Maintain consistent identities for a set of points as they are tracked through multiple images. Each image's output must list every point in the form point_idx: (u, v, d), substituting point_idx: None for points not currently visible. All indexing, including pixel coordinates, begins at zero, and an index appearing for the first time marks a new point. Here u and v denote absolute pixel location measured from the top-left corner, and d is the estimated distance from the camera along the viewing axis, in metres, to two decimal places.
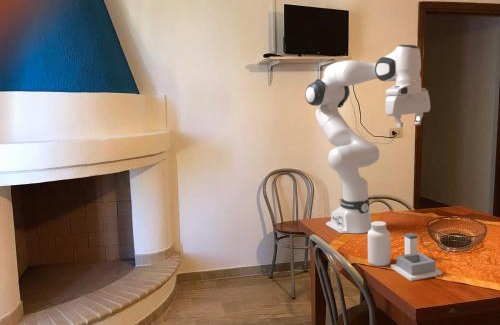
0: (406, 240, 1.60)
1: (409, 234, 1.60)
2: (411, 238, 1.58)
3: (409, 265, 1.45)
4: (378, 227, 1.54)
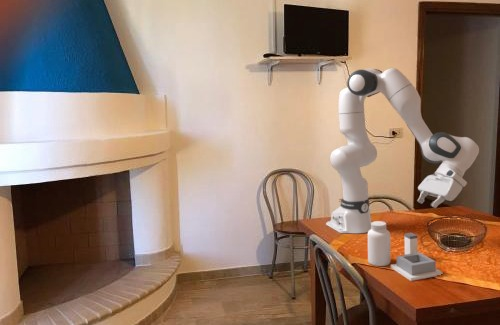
0: (406, 240, 1.60)
1: (409, 234, 1.60)
2: (411, 238, 1.58)
3: (409, 265, 1.45)
4: (378, 227, 1.54)
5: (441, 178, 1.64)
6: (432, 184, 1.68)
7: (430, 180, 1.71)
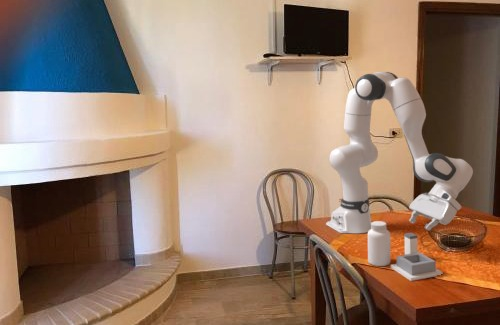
0: (406, 240, 1.60)
1: (409, 234, 1.60)
2: (411, 238, 1.58)
3: (409, 265, 1.45)
4: (378, 227, 1.54)
5: (435, 200, 1.62)
6: (425, 205, 1.66)
7: (422, 200, 1.69)
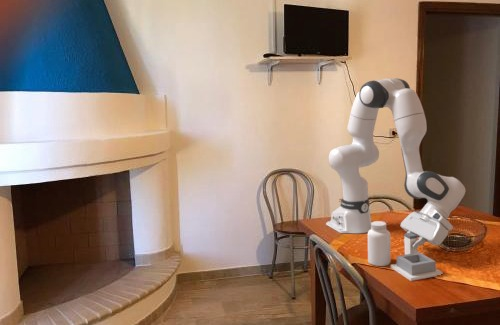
0: (406, 240, 1.60)
1: (409, 234, 1.60)
2: (411, 238, 1.58)
3: (409, 265, 1.45)
4: (378, 227, 1.54)
5: (426, 220, 1.58)
6: (416, 224, 1.62)
7: (414, 218, 1.66)
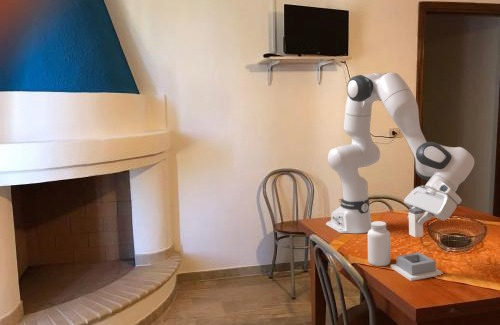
0: (410, 216, 1.47)
1: (414, 209, 1.47)
2: (416, 213, 1.45)
3: (409, 265, 1.45)
4: (378, 227, 1.54)
5: (432, 193, 1.45)
6: (421, 198, 1.49)
7: (418, 193, 1.52)
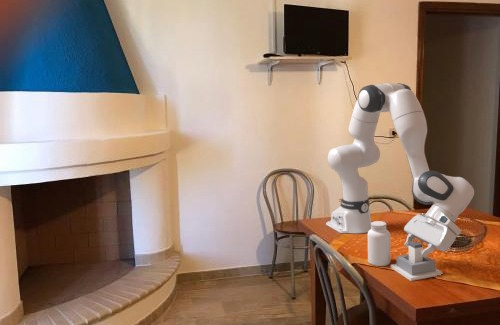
0: (410, 249, 1.49)
1: (413, 243, 1.48)
2: (415, 247, 1.46)
3: (409, 265, 1.45)
4: (378, 227, 1.54)
5: (432, 223, 1.46)
6: (421, 228, 1.50)
7: (418, 222, 1.54)
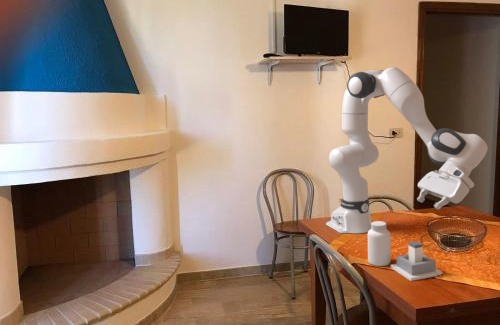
0: (410, 249, 1.49)
1: (413, 243, 1.48)
2: (415, 247, 1.46)
3: (409, 265, 1.45)
4: (378, 227, 1.54)
5: (446, 177, 1.51)
6: (435, 182, 1.55)
7: (432, 178, 1.58)
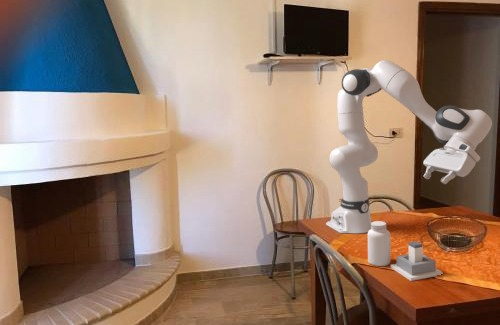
0: (410, 249, 1.49)
1: (413, 243, 1.48)
2: (415, 247, 1.46)
3: (409, 265, 1.45)
4: (378, 227, 1.54)
5: (451, 152, 1.52)
6: (441, 158, 1.56)
7: (438, 154, 1.59)
